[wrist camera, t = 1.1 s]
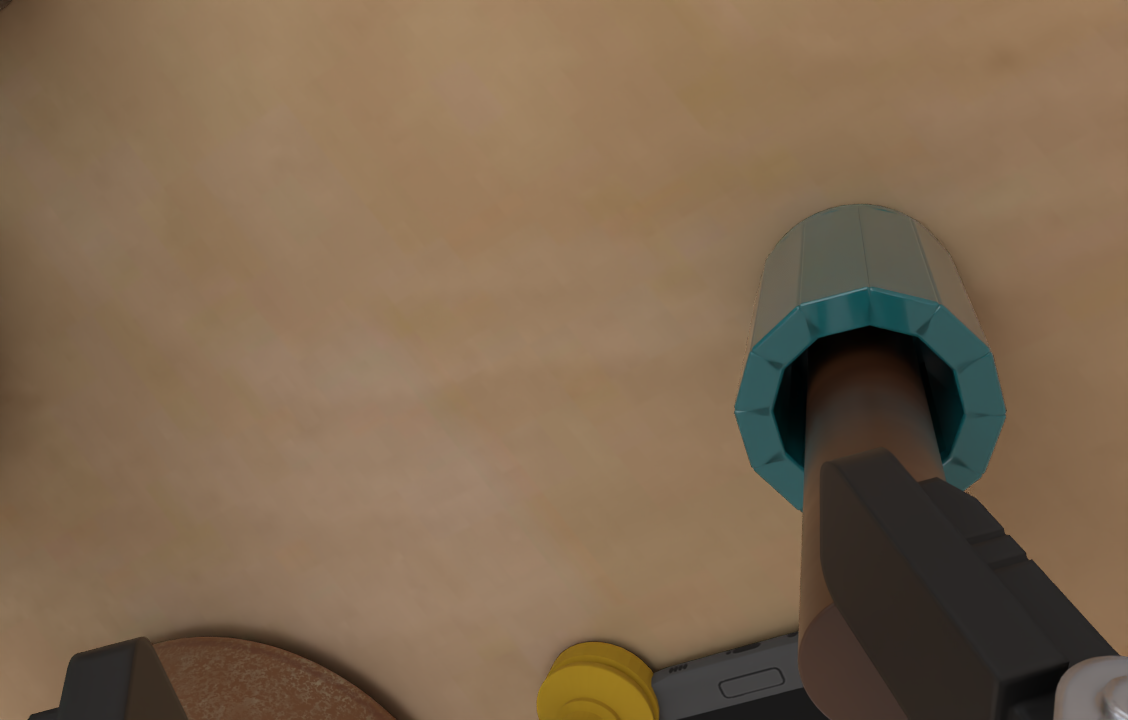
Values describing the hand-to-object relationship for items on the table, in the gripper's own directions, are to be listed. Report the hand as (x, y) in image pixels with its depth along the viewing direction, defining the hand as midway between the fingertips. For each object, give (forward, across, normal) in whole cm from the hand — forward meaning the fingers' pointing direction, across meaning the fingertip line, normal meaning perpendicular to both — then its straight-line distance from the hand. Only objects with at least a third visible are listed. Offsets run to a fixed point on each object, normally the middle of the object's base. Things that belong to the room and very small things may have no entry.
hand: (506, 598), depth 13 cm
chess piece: (+14, -3, +19) cm, 24 cm away
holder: (+14, -11, +6) cm, 19 cm away
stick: (+14, -11, +6) cm, 19 cm away
